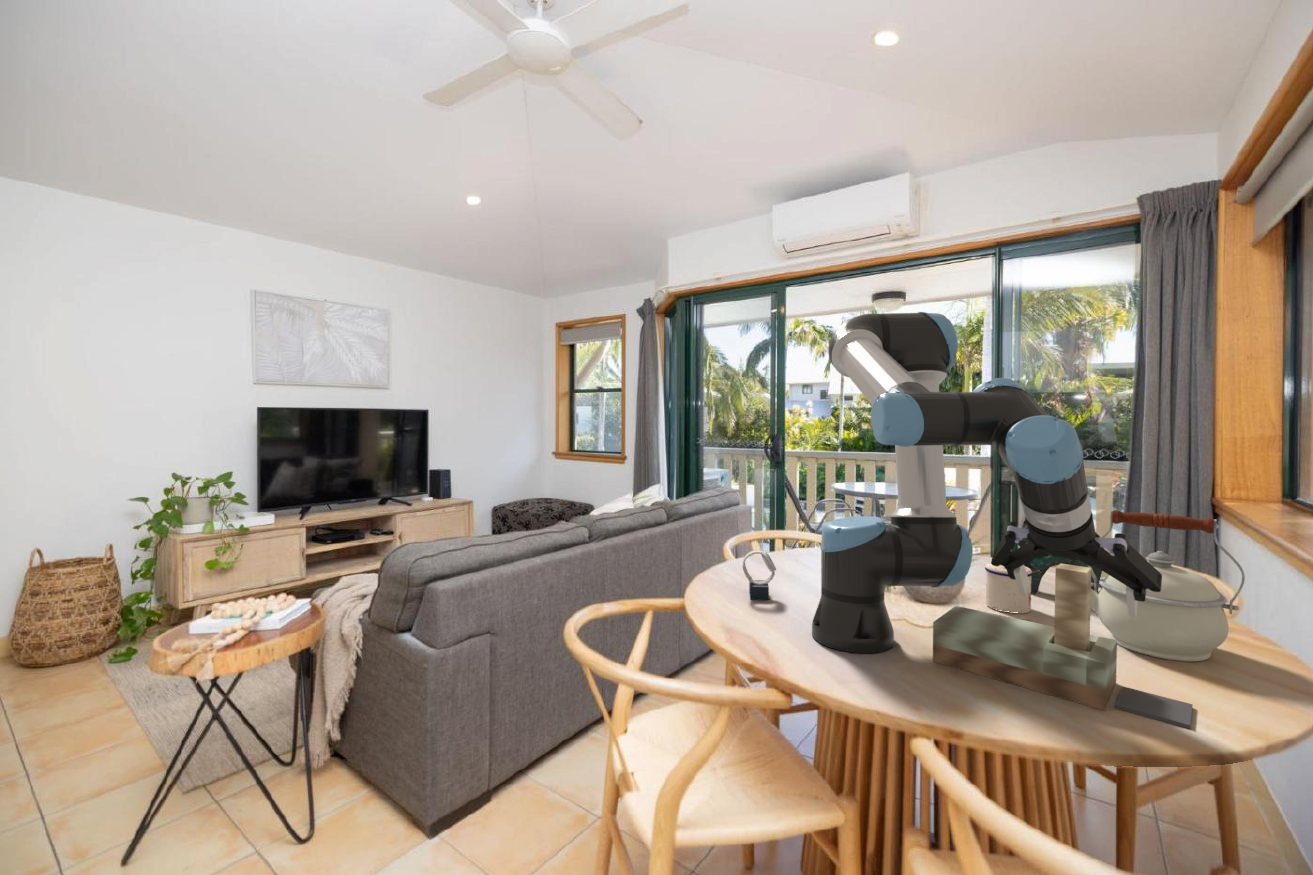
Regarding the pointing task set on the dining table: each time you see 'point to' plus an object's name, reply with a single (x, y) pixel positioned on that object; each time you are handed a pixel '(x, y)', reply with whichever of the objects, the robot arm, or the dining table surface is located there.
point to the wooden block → (1072, 606)
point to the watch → (759, 587)
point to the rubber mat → (1155, 707)
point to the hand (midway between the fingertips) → (1076, 597)
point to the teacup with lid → (1006, 590)
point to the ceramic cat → (1050, 565)
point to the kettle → (1166, 601)
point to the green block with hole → (1025, 655)
